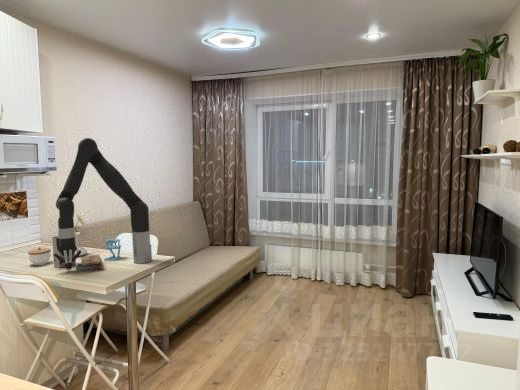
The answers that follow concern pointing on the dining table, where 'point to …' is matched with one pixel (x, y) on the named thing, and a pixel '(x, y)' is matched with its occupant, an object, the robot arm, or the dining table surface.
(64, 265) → the coffee box
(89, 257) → the light brown rounded block
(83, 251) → the flower in vase
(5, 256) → the dining table surface
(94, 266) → the dark grey flat block
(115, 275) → the dining table surface
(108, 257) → the chair
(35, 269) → the dining table surface
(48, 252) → the lidded jar
